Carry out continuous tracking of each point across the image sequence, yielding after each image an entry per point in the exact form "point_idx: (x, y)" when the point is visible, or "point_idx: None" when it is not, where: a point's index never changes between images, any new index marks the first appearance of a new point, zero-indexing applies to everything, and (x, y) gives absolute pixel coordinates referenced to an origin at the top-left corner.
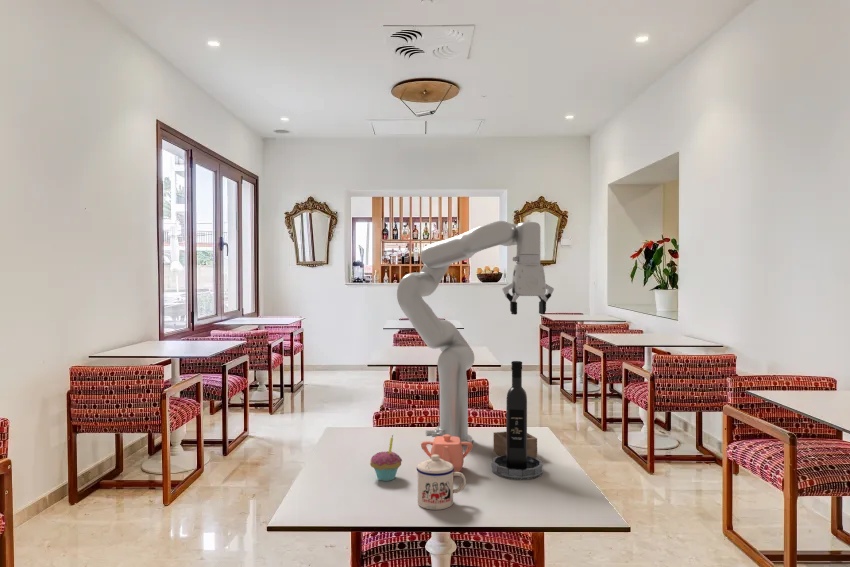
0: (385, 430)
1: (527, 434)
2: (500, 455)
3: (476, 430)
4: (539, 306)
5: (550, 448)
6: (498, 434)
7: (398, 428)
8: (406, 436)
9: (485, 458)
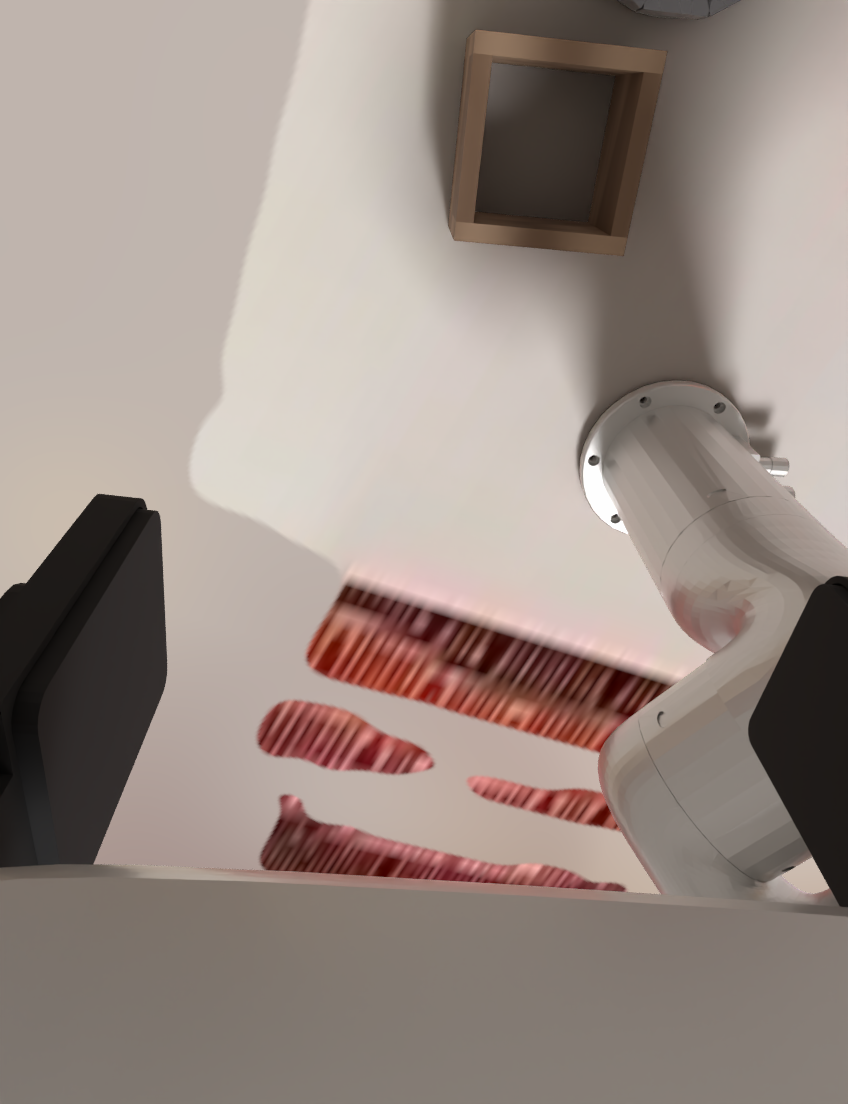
0: None
1: (478, 140)
2: (714, 12)
3: (482, 564)
4: (114, 785)
5: (308, 176)
6: (623, 207)
7: None
8: None
9: (699, 149)
